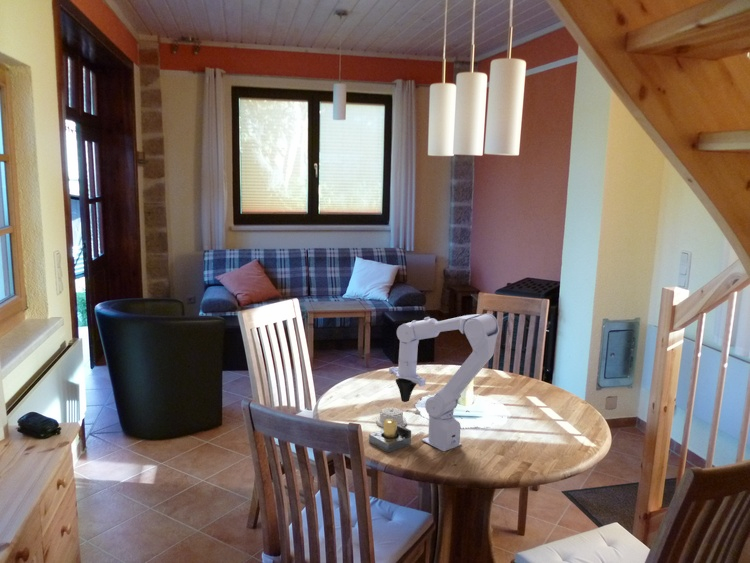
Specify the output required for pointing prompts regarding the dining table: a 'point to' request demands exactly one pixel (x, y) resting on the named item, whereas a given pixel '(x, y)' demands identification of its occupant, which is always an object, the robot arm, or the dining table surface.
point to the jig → (391, 444)
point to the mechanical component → (391, 416)
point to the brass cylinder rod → (390, 429)
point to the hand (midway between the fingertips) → (405, 401)
